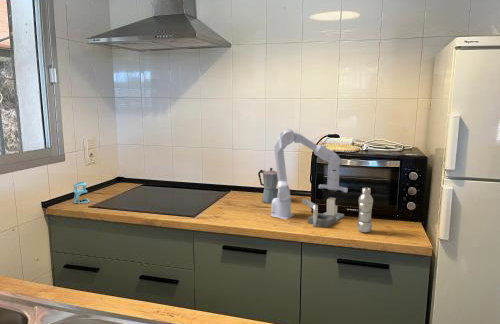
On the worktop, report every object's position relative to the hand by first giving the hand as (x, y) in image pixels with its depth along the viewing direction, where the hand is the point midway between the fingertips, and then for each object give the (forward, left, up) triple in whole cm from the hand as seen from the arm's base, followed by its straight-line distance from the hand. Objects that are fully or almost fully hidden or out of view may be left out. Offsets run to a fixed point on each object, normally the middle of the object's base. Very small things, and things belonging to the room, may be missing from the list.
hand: (332, 204), depth 189 cm
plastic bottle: (+21, -10, -7) cm, 24 cm away
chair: (-128, -61, -7) cm, 142 cm away
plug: (0, 0, -5) cm, 5 cm away
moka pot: (-42, +6, -7) cm, 43 cm away
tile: (0, 0, -7) cm, 7 cm away
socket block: (0, -11, -7) cm, 13 cm away
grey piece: (-5, -15, -7) cm, 17 cm away
